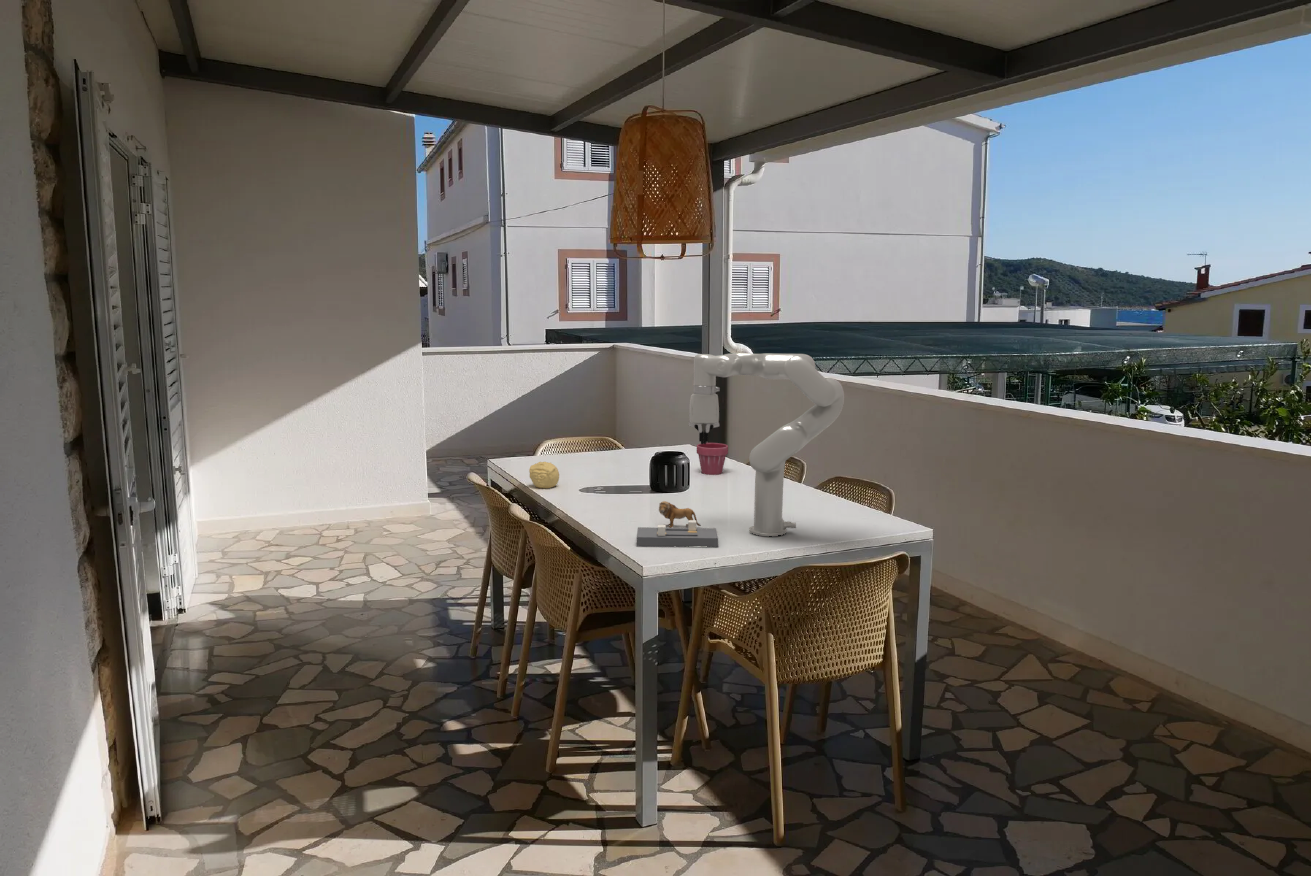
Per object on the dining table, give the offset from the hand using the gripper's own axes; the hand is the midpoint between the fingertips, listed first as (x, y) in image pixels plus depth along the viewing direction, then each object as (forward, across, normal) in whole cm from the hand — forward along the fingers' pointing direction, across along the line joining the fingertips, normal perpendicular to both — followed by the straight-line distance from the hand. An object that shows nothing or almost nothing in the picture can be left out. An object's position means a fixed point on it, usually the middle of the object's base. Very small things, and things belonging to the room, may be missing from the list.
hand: (703, 443), depth 326 cm
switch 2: (+27, +4, +18) cm, 33 cm away
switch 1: (+27, +14, +25) cm, 39 cm away
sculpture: (+29, +63, -64) cm, 94 cm away
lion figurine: (+29, +8, +2) cm, 31 cm away
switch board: (+29, +9, +22) cm, 37 cm away
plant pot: (+29, -8, -99) cm, 104 cm away
